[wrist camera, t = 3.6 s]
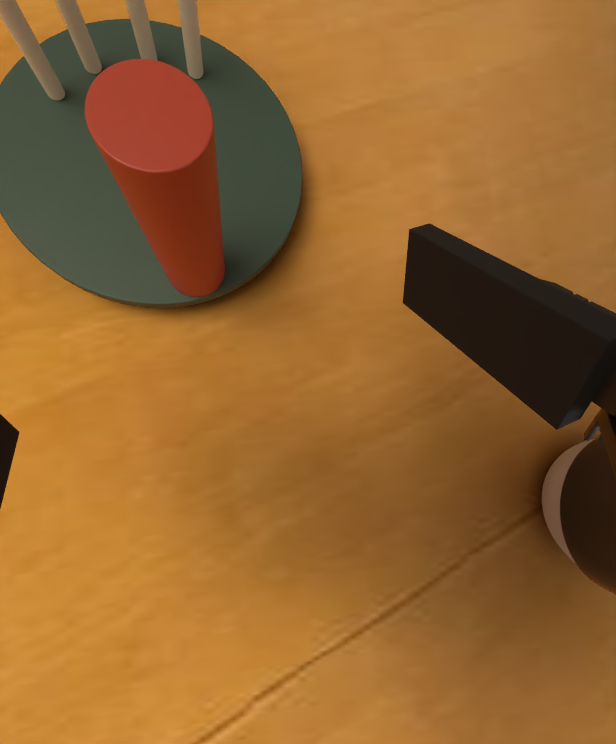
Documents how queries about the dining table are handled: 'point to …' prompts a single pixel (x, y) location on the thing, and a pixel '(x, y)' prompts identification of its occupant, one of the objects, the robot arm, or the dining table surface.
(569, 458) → the pump dispenser
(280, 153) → the drying rack
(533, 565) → the dining table surface
